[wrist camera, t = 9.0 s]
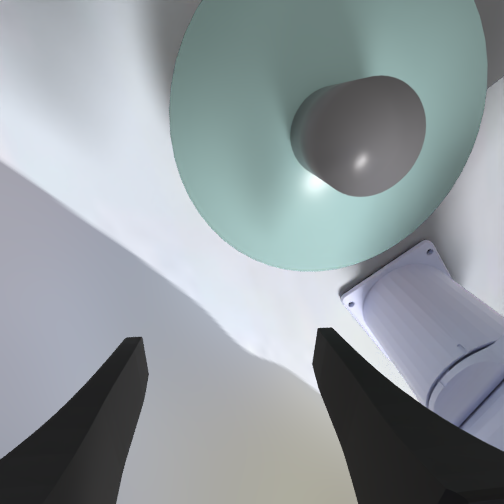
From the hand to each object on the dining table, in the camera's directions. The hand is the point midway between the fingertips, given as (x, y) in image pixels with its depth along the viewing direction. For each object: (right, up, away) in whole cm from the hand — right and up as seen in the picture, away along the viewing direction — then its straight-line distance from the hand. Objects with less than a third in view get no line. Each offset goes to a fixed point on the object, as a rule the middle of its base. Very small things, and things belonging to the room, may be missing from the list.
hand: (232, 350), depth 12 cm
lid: (+5, +10, +2) cm, 11 cm away
